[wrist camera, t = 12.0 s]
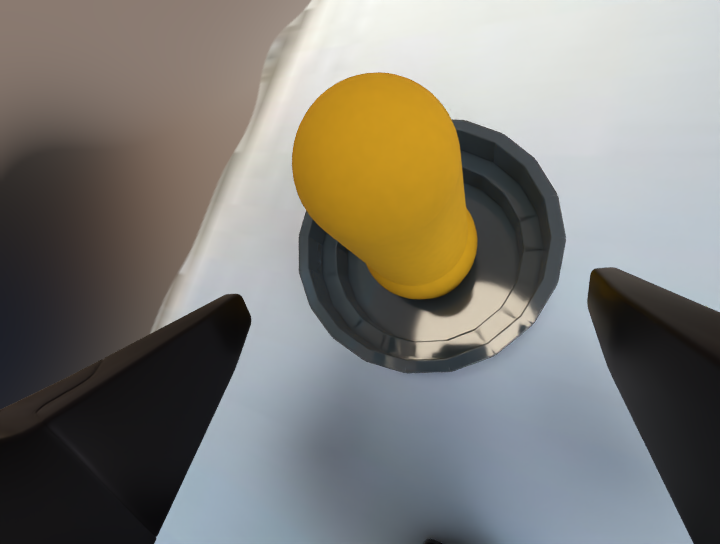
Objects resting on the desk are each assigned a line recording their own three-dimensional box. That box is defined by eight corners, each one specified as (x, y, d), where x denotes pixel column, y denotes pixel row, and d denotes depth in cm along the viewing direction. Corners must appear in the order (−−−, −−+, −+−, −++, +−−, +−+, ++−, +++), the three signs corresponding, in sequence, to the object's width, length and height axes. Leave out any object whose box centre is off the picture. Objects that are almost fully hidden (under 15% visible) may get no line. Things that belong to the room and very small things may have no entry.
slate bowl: (522, 399, 18) (534, 412, 14) (308, 336, 23) (270, 332, 19) (565, 171, 20) (587, 124, 16) (358, 154, 25) (333, 114, 21)
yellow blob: (464, 317, 20) (438, 253, 7) (368, 293, 22) (216, 211, 9) (487, 218, 20) (500, 4, 8) (391, 204, 22) (281, 17, 10)
